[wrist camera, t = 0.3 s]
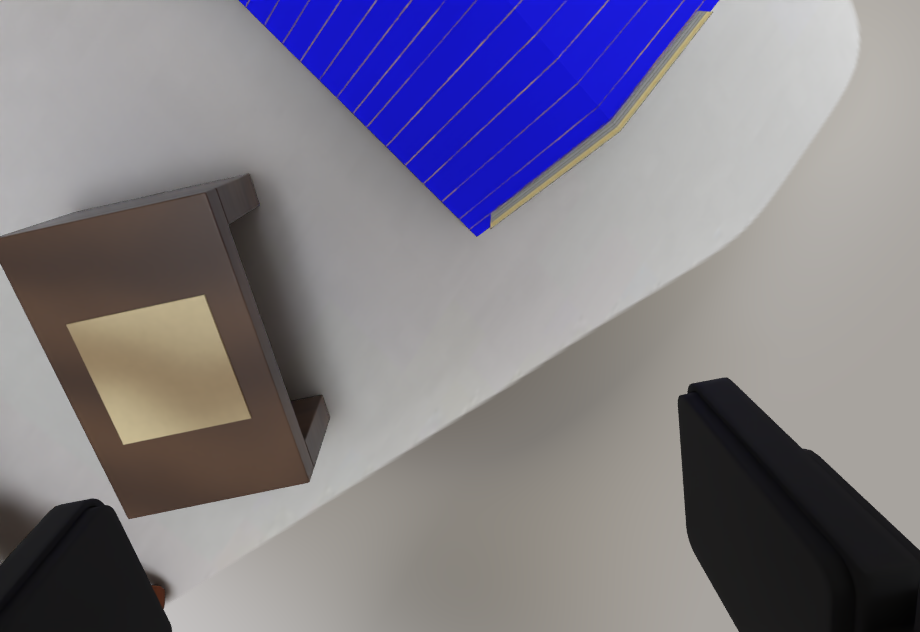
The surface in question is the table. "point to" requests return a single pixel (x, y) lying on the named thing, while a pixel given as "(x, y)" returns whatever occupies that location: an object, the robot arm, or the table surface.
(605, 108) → the roof
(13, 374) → the table surface
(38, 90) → the table surface
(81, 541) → the robot arm
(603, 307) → the table surface
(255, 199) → the shelf
